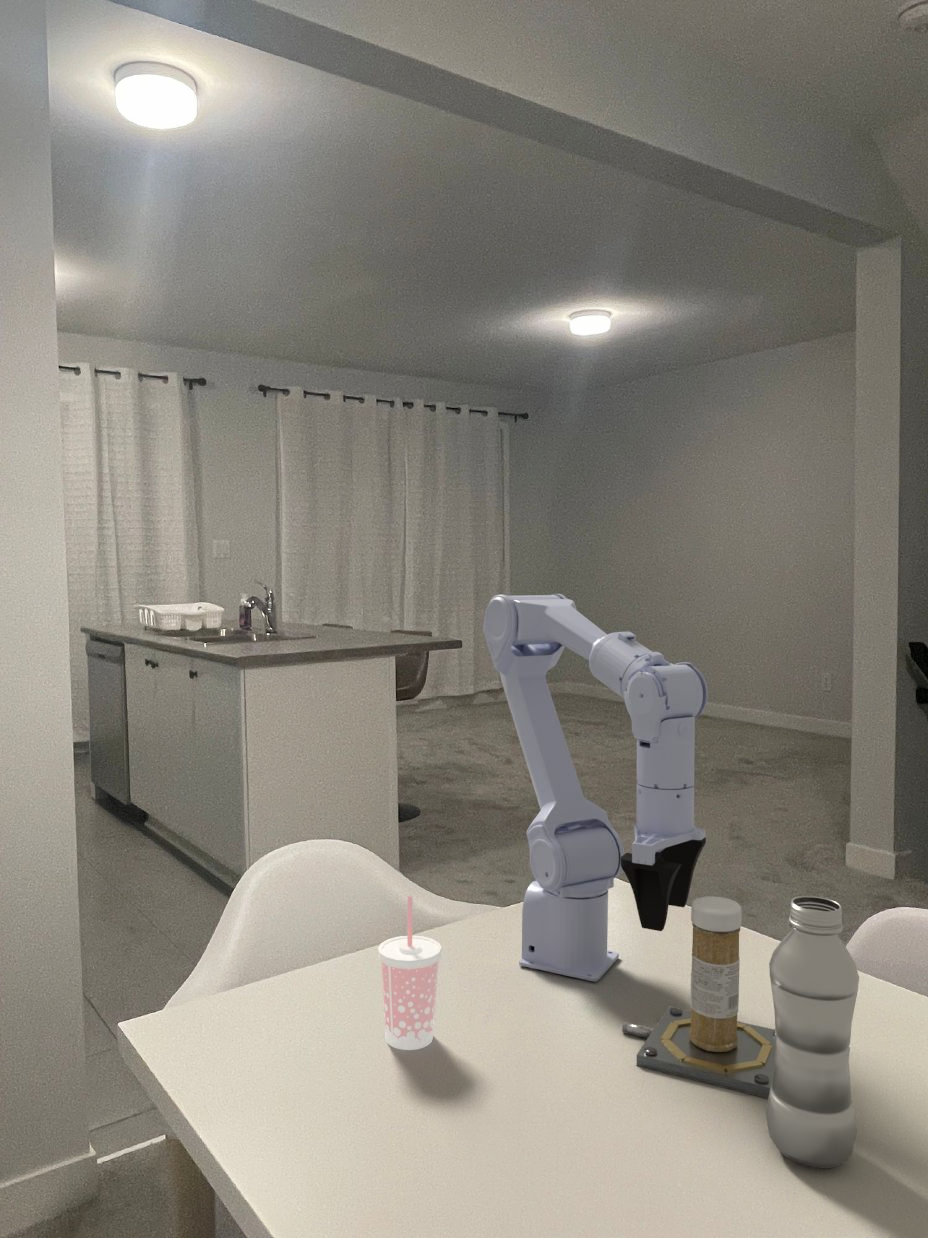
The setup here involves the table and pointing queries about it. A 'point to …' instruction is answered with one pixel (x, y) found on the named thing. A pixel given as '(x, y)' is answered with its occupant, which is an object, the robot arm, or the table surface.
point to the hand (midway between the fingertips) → (664, 916)
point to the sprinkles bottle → (715, 973)
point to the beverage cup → (409, 987)
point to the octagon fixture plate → (708, 1054)
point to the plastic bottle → (813, 1037)
